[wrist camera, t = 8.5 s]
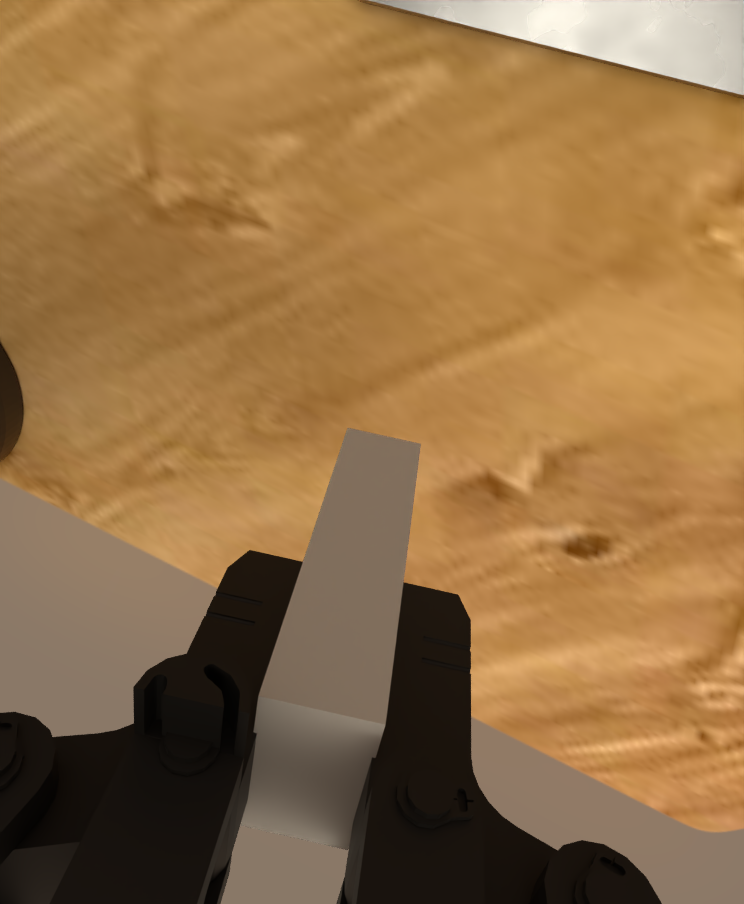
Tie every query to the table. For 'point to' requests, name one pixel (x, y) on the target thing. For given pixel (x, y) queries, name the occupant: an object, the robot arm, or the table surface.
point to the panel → (613, 32)
